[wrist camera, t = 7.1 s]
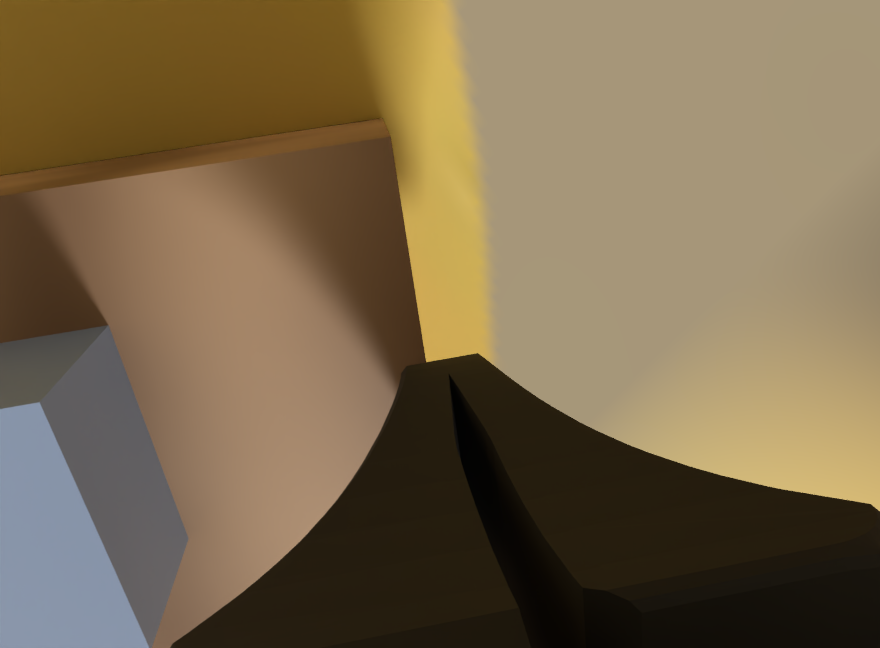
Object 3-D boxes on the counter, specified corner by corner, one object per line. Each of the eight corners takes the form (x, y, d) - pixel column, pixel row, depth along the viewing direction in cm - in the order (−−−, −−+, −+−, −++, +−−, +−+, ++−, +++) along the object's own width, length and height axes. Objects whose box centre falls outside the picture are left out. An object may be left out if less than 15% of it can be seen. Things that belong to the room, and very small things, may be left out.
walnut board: (381, 118, 12) (390, 136, 10) (485, 760, 21) (505, 870, 18) (-234, 211, 12) (-412, 259, 9) (123, 839, 20) (86, 964, 17)
